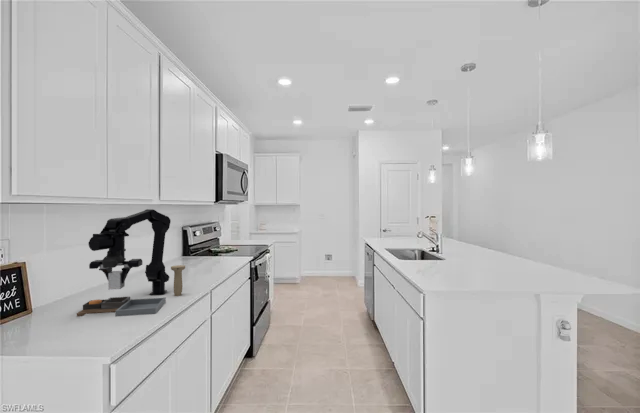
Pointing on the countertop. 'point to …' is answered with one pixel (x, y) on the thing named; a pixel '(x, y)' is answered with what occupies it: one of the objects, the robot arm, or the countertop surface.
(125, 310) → the tote
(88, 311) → the brown wood panel
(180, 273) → the handle
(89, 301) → the button
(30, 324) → the countertop surface
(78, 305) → the countertop surface
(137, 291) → the countertop surface
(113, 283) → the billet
